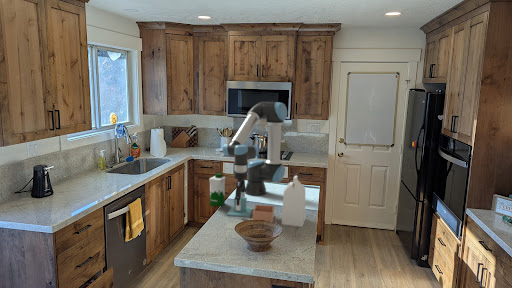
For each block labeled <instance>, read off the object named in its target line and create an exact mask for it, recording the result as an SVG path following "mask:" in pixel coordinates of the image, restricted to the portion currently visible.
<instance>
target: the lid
mask: <svg viewBox="0 0 512 288" xmlns="http://www.w3.org/2000/svg"><path fill="white" fill-rule="evenodd" d="M238 198H239V197H238ZM233 199H234V198H233ZM240 199H241V210H240V211H239V210H236V200H235V199H234V200H233V201H234V202H233V206H230V207H231V209H230V210H229V212H228V214H227V215H229V216H243V217H250V214H251V212H252V210H253V209H254V207H247V204H248V203H247V201H248V198H247V197H245V198H242V197H240Z"/></svg>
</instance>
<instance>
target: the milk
mask: <svg viewBox="0 0 512 288" xmlns="http://www.w3.org/2000/svg"><path fill="white" fill-rule="evenodd" d="M298 177H299V176H298V175H294V176H293V179H292V181H290V182H289V183H287V185H286V187H285V189H284V191H283V201H282V212H281V213H282V214H281V225H285V226H294V227H299V228H300V227H303V226H304V223H305V221H306V188H305V186H304V185H303V184H302V183H301V182H300V181H299V179H298Z"/></svg>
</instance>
